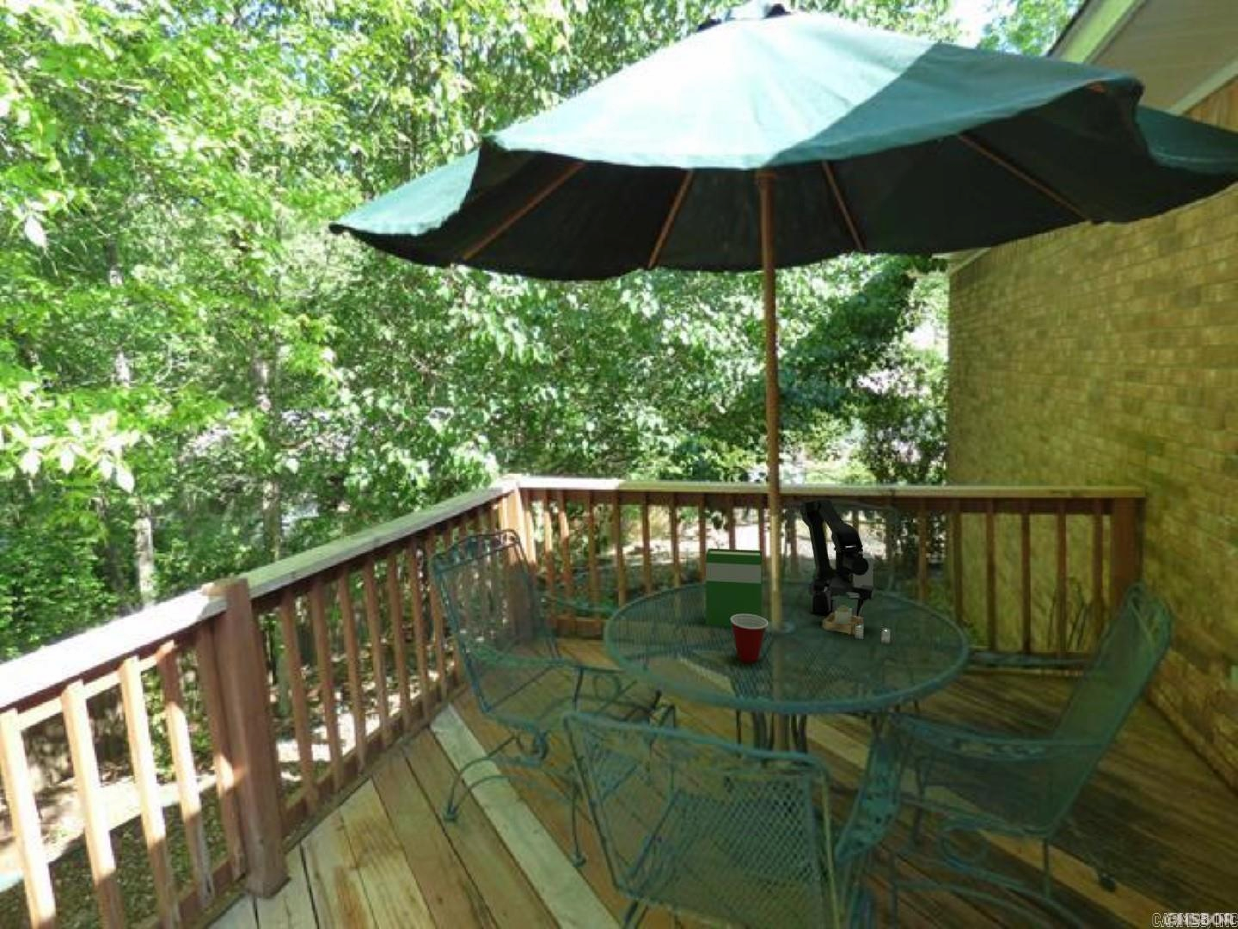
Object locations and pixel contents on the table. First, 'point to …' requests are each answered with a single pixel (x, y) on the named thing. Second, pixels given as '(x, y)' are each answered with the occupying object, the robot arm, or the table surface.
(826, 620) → the wooden tray
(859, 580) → the skincare box
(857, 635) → the peg
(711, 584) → the hardback book
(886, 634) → the peg
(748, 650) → the plastic cup
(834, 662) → the table surface
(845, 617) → the plug block
